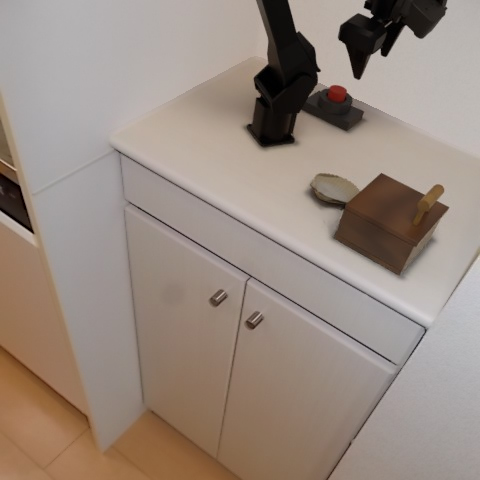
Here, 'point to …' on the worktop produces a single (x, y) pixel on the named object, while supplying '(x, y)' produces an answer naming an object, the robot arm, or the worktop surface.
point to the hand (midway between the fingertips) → (370, 67)
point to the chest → (377, 242)
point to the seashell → (333, 188)
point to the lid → (399, 208)
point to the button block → (333, 110)
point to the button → (337, 93)
